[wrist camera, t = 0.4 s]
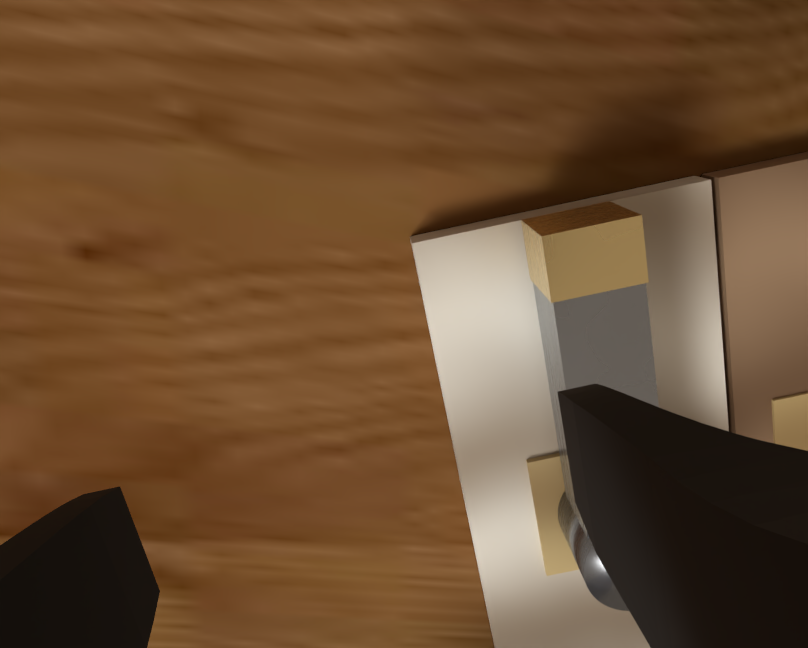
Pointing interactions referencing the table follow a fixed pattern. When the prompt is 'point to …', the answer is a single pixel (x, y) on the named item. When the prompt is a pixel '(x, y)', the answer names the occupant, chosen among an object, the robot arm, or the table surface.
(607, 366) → the latch bar
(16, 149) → the table surface
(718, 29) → the table surface
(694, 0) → the table surface
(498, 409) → the door board
